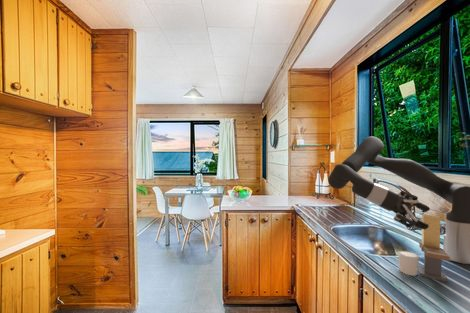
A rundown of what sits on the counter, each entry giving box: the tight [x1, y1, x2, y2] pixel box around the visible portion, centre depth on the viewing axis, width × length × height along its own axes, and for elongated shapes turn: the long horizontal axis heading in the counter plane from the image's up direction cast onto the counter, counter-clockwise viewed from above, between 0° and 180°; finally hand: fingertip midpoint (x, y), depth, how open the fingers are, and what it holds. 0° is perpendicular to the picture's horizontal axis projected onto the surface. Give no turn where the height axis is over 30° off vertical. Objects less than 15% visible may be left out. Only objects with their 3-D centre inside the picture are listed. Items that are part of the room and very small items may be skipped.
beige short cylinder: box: [397, 250, 421, 276], centre depth 95 cm, size 7×7×7 cm
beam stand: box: [417, 252, 448, 283], centre depth 92 cm, size 5×8×8 cm, turn 59°
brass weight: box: [421, 213, 441, 249], centre depth 97 cm, size 5×5×12 cm
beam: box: [418, 241, 451, 262], centre depth 92 cm, size 20×7×2 cm, turn 149°
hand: (427, 218), depth 88 cm, fingers open, 8 cm apart
